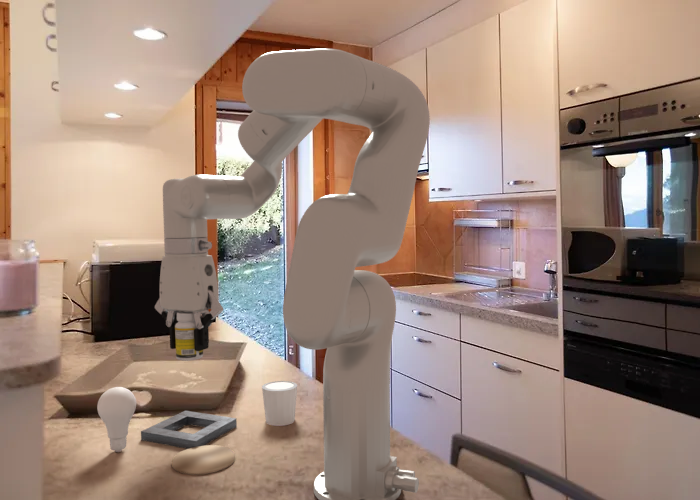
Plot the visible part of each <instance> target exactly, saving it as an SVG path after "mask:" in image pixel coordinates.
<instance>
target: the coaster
mask: <svg viewBox="0 0 700 500" xmlns="http://www.w3.org/2000/svg"><path fill="white" fill-rule="evenodd" d="M235 461H236V452H235V451H234V450H233V449H232V448H231V447H228V446H225V445H224V446H223V445H219V444H217V445H215V444H210V445H209V444H206V445H204V446H198V447H193V448H189V449H186V448H185V449H183V450H181V451H179V452H178V453H176V454H175V455H174V456H173V457H172V459H171V467H172V469H173V470H174V471H176V472H178V473H181V474H184V475H206V474H207V475H208V474H211V473H217V472H220V471H222V470H224V469H226V468H229V467H230V466H231V465H233V464H234V463H235Z"/></svg>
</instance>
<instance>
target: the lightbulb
mask: <svg viewBox="0 0 700 500" xmlns="http://www.w3.org/2000/svg"><path fill="white" fill-rule="evenodd" d="M96 407H97V409H96V410H97V413H98V416H99V418H100V419H101V420H102V422H103V423H104V425H105V428H106V431H107V437H108V439H109V445H110V446H109V447H110V449H111V451H114V452H115V453H120V452H122V451H123V450H124V449H126V447H127V436H128V433H129V425H130V422H131V419H132V418H133V416H134V413H135V411H136V409H137V408H136V407H137V398H136V396H135V395H134V393H133V392H132V391H131V390H130V389H129V388H126V387H124V386H123V387H122V386H115V387H111V388H108V389H107V390H105V392H103V393H102V394H101V396H100V397H99V399H98V401H97V406H96Z"/></svg>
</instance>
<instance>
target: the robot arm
mask: <svg viewBox="0 0 700 500" xmlns="http://www.w3.org/2000/svg"><path fill="white" fill-rule="evenodd" d="M241 89H242V96H243V99H244V102H245V103H246V105H247V106H248V107H249V108H250V109H251V110H252V111H251V112H250V113H249V115H247V117H246V118H245V119H244V120H243V121H242V123H240V125H239V127H238V131H237V137H238V141H239V144H240V145H241V148H242V149H243V150H244V152H245V153H246V154H247V155H248V156H249V158H250V159H252V160H253V162H252V163H251V164H250V166H249V167H248V168H247V169H246V170H245V171H244V172H243V173H242V174H241V175H239V176H232V175H231V176H230V175H217V174H216V175H215V174H214V175H213V174H192V175H190V176H188V177H185V178H172V179H170V178H169V179H167V180H166V181H164V183H163V185H162V211H163V214H162V216H163V239H164V240H163V242H164V245H163V246H164V247H163V248H164V255H163V256H162V258H161V259H162V260H161V265H160V274H159V275H160V276H159V297H158V300H157V301H156V303H155V305H154V309H155V311H157V312H158V313H159V314H160V315H161V317H162V319H164V321H165V325H166V326H167V327H168V328H169V347H170V349H172V350H176V340H175V325H176V323H178V321H177V312H180V311H184V312H193V314H194V318H195V322H196V326H197V328H196V329H194V349H195V351H201V350H203V351H204V350H207V349H209V346H210V344H209V343H210V340H209V338H210V337H209V335H210V334H209V333H210V331H209V327H211V326H212V323H213V322H215V320H216V318H217V317H219V316H220V315H221V314H222V313H223V312H224V306H222V304H221V303H220V301H219V287H218V277H217V272H216V266H215V262H214V258H213V255H212V254H211V255H210V254H209V250H211V249H212V248H213V244H212V241H208V220H222V219H223V220H239V219H240V220H241V219H245V218H248V217H250V216H252V215H253V214H255V213H256V212H257V211H259V210H260V209H261V208H262V207H263V206H264V205H265V204H266V203H267V202H268V201H269V200H270V199H271V198H272V197H273V196H274V195H275V192H276V191H277V189H278V187H279V183H280V180H281V177H282V173H283V161H284V160H285V159H286V158H287V157H288V156H289V154H291V153H292V152H293V151H294V149H295V148H296V147H298V145H299V144H301V143H302V141H303V140H304V139H306V137H307V136H308V135H309V134H310V133H311V132H312V131H313V130H314V129H315V128H316V126H317V125H318V124H319V123H321V122H322V120H331V121H336V122H342V123H347V124H350V125H351V124H352V125H356V126H362V127H364V128H365V127H366V128H367V129H369V131H370V132H371V133H370V135H369V137H368V138H367V139H366V141H365V142H364V143H363V146H362V147H361V149H360V150H359V153H358V155H357V156H356V160H355V161H354V162H355V163H354V168H353V173H352V179H351V182H350V185H349V188H348V192H347V193H344V194H343V193H334V194H333V193H332V194H331V193H330V194H327V195H324V196H321V197H319V198H318V199H315V200H314V201H313V202H312V203H311V204H310V205H309V206H308V207H307V209H306V210H305V211H304V212H303V215H302V217H301V218H300V220H299V223H298V226H297V228H296V229H297V230H296V234H295V238H294V244H293V249H292V254H291V259H290V263H289V268H288V273H287V274H288V275H287V278H286V285H285V290H284V294H283V295H284V296H283V304H282V318H283V322H284V323H283V324H284V327H285V329H286V332H287V333H288V336H289V337H290V339H291V340H292V341H293V342H294V343H295V344H297V345H298V346H300V347H302V348H304V349H307V350H313V351H314V350H316V351H317V350H324V349H326V351H325V357H324V360H323V370H322V372H323V373H322V375H323V376H322V382H323V383H322V390H323V391H322V394H323V396H322V398H323V399H322V400H323V402H322V405H323V471H322V472H321V473H319V474H318V475H317V476H316V477H315V479H314V481H313V494H314V496H315V497H316V498H317V499H318V500H397V499H398V498H399V497H400V495H401V493H402V491H404V492H409V493H415V494H417V492H418V491H419V487H420V479H419V477H416V471H414V470H410V469H400V466H398V465H397V462H398V460H397V458H398V457H397V456H395V455H394V456H393V455H391V396H390V395H391V392H390V391H391V389H390V387H391V385H390V384H391V353H392V352H391V350H392V340H393V335H394V329H395V322H396V315H397V302H396V297H395V294H394V291H393V288H392V286H391V285H390V283H389V282H388V281H387V280H386V279H385V277H383V276H381V274H378V273H376V272H373V271H370V270H364V269H362V270H361V269H360V270H358V269H357V270H356V268H358V267H359V268H360V267H366V266H367V267H368V266H375V265H378V264H384V263H387V262H388V261H390V260H392V259H394V257H395V256H396V255H397V254H398V252H399V251H400V249H401V247H402V246H401V245H402V244H403V243H402V242H403V239H404V235H405V231H406V225H407V222H408V218H409V214H410V210H411V209H410V208H411V204H412V200H413V196H414V193H415V187H416V181H417V176H418V173H419V172H418V171H419V167H420V165H421V161H422V158H423V154H424V152H425V151H424V150H425V147H426V144H427V141H428V138H429V137H428V136H429V130H430V124H431V123H430V120H431V118H430V117H431V116H430V109H429V105H428V103H427V100H426V98H425V95H424V94H423V92H422V90H421V89H420V88H419V87H418V85H417V84H415V82H413V81H412V80H411V79H410V78H409V77H407V76H406V75H404V74H403V73H402V72H399V71H398V70H396V69H393V68H391V67H390V66H389V67H388V66H386V65H384V64H382V63H379V62H377V61H373V60H369V59H366V58H364V57H361V56H359V55H356V54H354V53H351V52H348V51H345V50H342V49H336V48H310V49H296V50H295V49H292V50H279V51H269V52H266V53H264V54H261V55H260V56H259V57H257V58H256V59H255V60H254V61H253V62H251V63H250V65H249V66H248V67H247V69H246V71H245V73H244V76H243V80H242V87H241ZM209 310H210V311H209Z"/></svg>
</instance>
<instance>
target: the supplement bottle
mask: <svg viewBox="0 0 700 500" xmlns="http://www.w3.org/2000/svg"><path fill="white" fill-rule="evenodd" d="M177 321H178V323H176V325H175V340H176V349H175V358H176V360H178V361H187V362H188V361H195V360H196V361H197V360H199V359H201V358H203V357H204V350H201V351H195V349H194V329H196V328H197V326H196V322H195V318H194V314H193V312H184V311H180V312H177Z"/></svg>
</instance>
